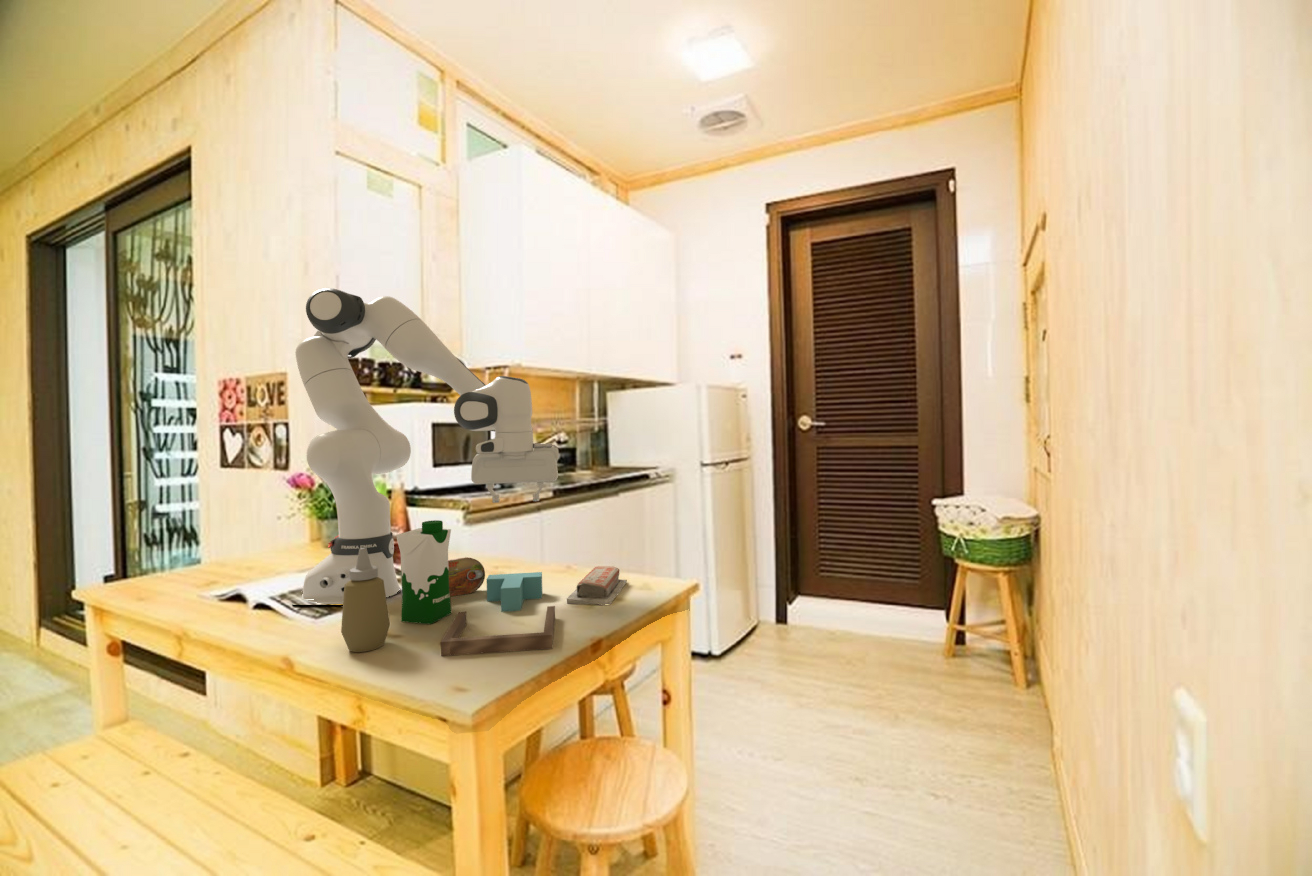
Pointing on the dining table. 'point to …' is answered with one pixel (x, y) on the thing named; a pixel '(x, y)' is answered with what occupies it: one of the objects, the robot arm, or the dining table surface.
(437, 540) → the milk carton
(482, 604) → the dining table surface
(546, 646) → the walnut dock
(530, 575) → the teal T block
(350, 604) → the squeeze bottle
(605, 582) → the packaged product
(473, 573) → the tin
